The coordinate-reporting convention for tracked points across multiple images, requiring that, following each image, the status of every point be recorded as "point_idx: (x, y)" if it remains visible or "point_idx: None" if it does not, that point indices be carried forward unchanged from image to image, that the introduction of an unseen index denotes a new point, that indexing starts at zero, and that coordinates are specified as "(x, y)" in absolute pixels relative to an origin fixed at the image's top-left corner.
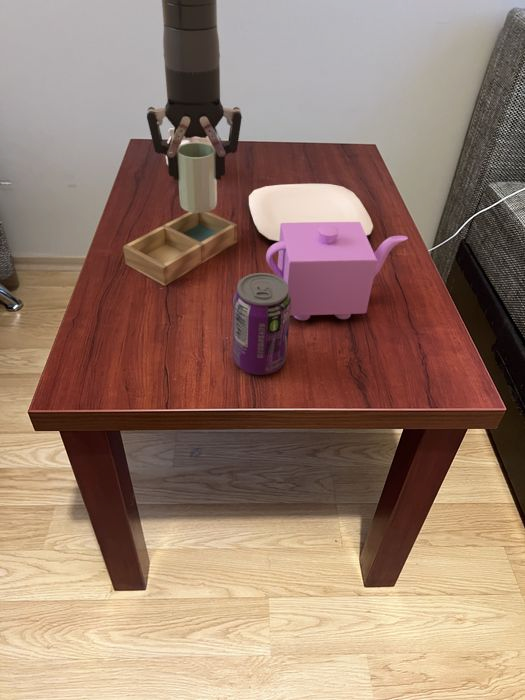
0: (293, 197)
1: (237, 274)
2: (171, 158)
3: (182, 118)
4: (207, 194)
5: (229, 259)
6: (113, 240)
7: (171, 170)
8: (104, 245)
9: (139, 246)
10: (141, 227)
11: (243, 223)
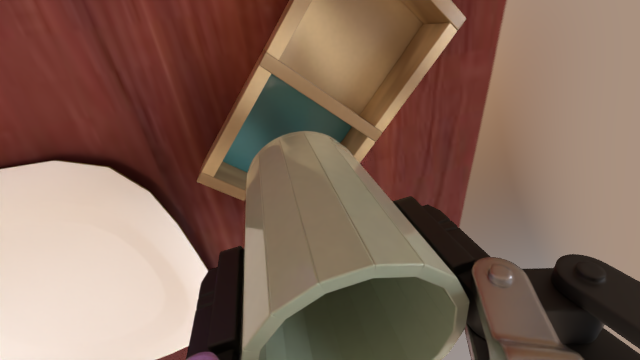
0: (132, 330)
1: (150, 7)
2: (472, 261)
3: None
4: (266, 173)
5: (198, 82)
6: (457, 113)
7: (437, 220)
8: (473, 92)
9: (421, 50)
10: (409, 169)
11: (213, 229)
